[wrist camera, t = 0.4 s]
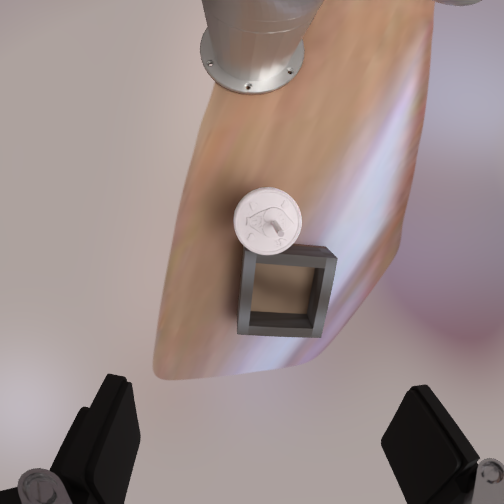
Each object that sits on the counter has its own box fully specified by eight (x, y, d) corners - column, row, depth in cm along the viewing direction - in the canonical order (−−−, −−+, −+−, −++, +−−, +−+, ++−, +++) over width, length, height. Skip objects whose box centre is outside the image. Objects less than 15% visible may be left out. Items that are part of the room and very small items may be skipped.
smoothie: (284, 234, 38) (309, 273, 25) (232, 231, 38) (230, 270, 25) (288, 183, 37) (317, 195, 23) (235, 179, 36) (234, 190, 23)
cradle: (244, 239, 38) (245, 250, 34) (325, 246, 39) (337, 258, 34) (237, 315, 41) (237, 334, 37) (312, 319, 42) (320, 337, 37)
